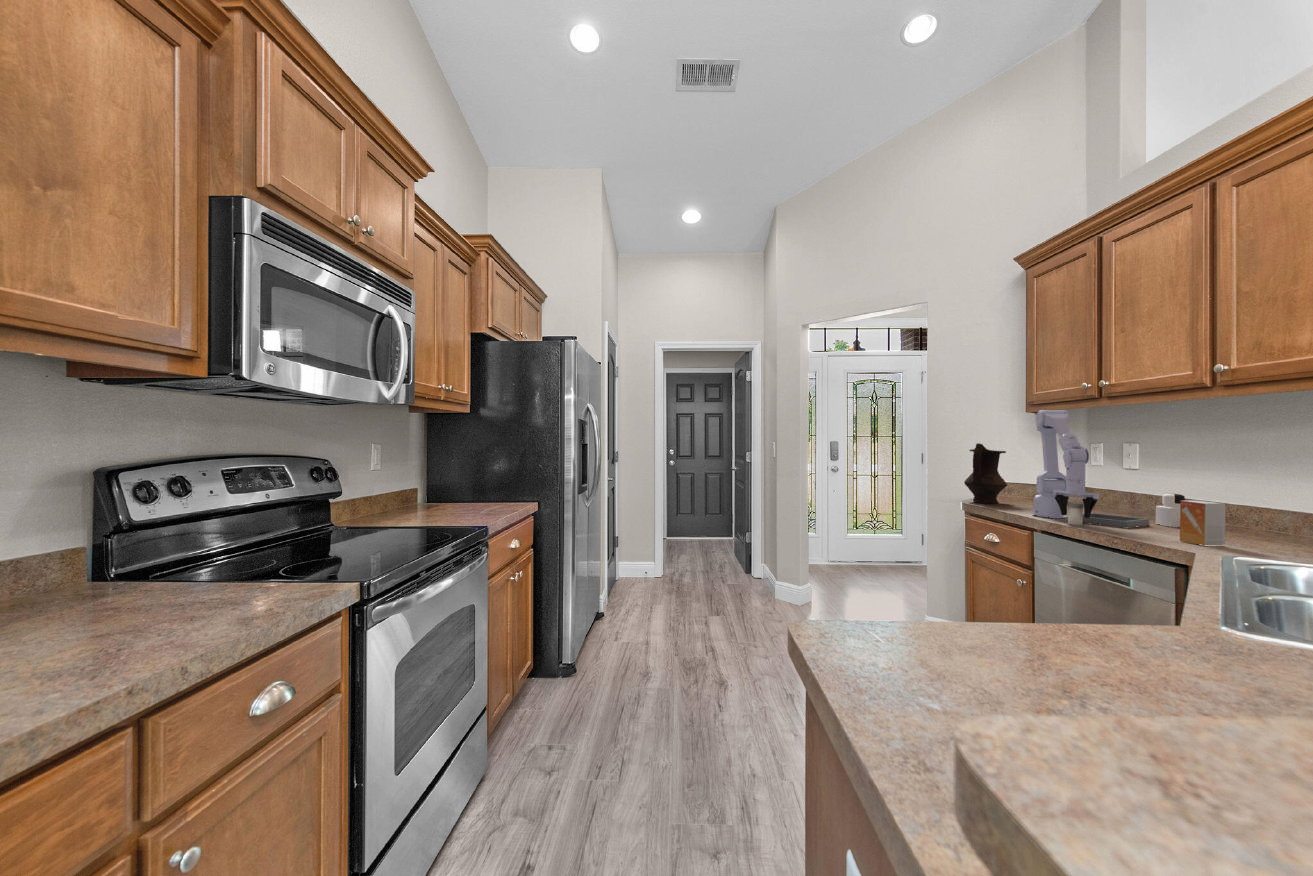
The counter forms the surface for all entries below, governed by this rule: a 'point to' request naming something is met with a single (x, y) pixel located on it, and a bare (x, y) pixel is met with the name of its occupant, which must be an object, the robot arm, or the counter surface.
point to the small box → (1202, 522)
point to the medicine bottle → (1169, 510)
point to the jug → (985, 475)
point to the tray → (1115, 520)
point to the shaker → (1075, 513)
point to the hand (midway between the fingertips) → (1075, 516)
